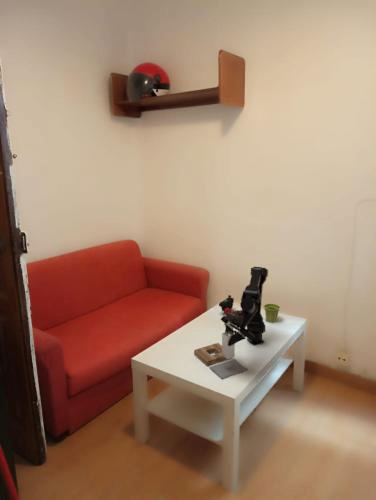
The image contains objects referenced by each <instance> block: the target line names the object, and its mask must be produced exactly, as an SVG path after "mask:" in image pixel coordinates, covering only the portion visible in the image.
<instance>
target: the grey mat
mask: <svg viewBox="0 0 376 500" xmlns="http://www.w3.org/2000/svg"><path fill="white" fill-rule="evenodd" d="M208 367H209V369H210V370H211V371H212V372H213V373H214V374H215V375H216V376H217V377H218V378H220V380H224V379H226V378H229V377H232V376H235V375H238V374H240V373H243V372H246V371H248V368H247V367H245V366H244V365H243V363H241V362H239V361H238V360H237V359H235V358H233V359H232V358H231V359H228V360H225V361H224V362H223V361H222V362H219V363H218V364H217V363H216V364H215V365H214V364H213V365H210V366H208Z"/></svg>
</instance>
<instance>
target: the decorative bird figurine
mask: <svg viewBox="0 0 376 500" xmlns="http://www.w3.org/2000/svg"><path fill="white" fill-rule="evenodd" d="M241 311H242V309H240V310H239V309H238V310H237V309H232V310H231V309H229V308H226V309H225V311H224V312H223V313H224V314H225V315H224V316H226V314H227V312H229V313H233V314H236V313H237V312H239V313H240V312H241Z"/></svg>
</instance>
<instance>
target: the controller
mask: <svg viewBox="0 0 376 500" xmlns="http://www.w3.org/2000/svg"><path fill="white" fill-rule="evenodd" d="M234 299H235V298H234V297H232V295H230V294H228V295H227V298H224V300H222V301H220V302H219V304H218V306H219V307H220V308H221V311H222V312H223V313H224V311H225V309H226V308H229V309H231V310H233V306H234Z"/></svg>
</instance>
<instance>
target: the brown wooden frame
mask: <svg viewBox="0 0 376 500" xmlns="http://www.w3.org/2000/svg"><path fill="white" fill-rule="evenodd" d="M193 353H194V356H195V357H197V359H199V361H200V362H201V363H203V364H204V365H205V366H206V367H210V366H213V365H214V364H215V365H216V364H217V363H218V364H219V363H222V362H223V361H224V362H225V361H228V359H226V358H225V357H224V356H222V344H220V343H219V342H216V343H212V344H210V345H206V346H202V347H200V348H196V349H194V350H193ZM213 353H214V354H213Z"/></svg>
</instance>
